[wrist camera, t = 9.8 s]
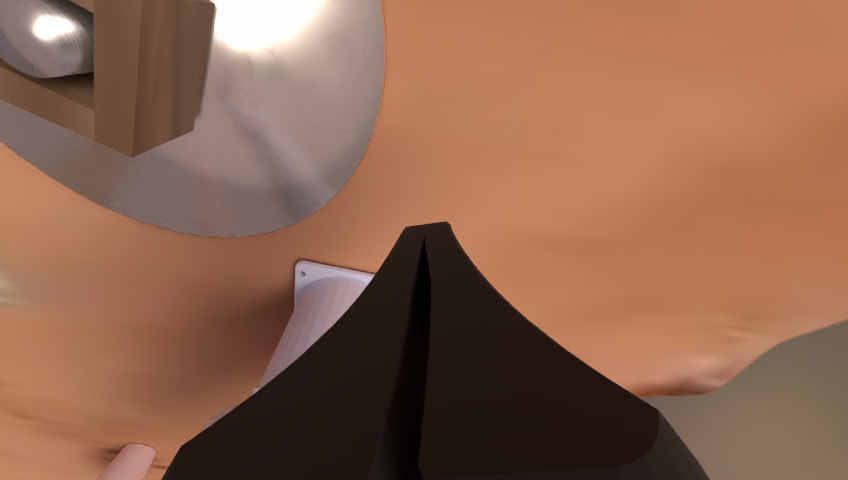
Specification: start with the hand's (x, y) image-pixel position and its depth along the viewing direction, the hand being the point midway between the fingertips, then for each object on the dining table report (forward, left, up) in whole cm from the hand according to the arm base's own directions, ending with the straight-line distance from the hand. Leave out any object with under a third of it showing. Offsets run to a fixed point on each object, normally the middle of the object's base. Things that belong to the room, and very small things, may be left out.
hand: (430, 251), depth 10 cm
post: (+2, +14, -10) cm, 17 cm away
